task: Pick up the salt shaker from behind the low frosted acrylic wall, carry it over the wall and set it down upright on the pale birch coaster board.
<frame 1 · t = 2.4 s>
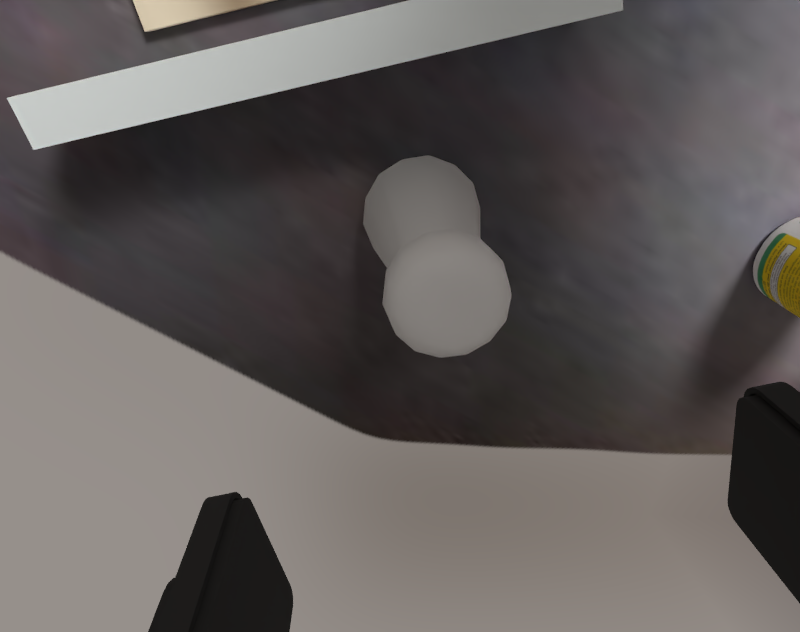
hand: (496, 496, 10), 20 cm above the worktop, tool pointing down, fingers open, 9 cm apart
acrylic wall: (323, 53, 25), on the worktop
supplement bottle: (792, 255, 31), on the worktop
salt shaker: (417, 202, 28), on the worktop
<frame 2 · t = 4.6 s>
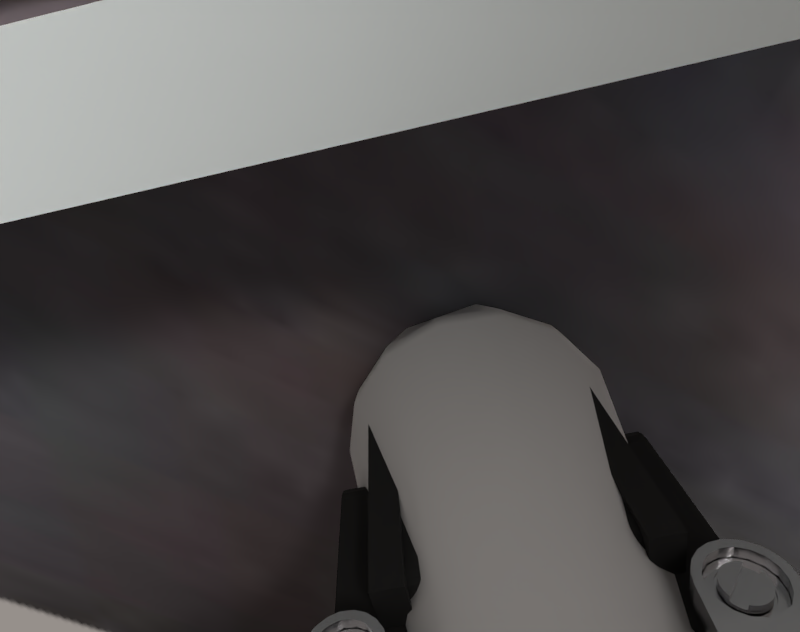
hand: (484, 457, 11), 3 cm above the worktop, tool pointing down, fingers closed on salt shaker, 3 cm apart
acrylic wall: (252, 77, 11), on the worktop
salt shaker: (461, 370, 14), on the worktop, touching gripper
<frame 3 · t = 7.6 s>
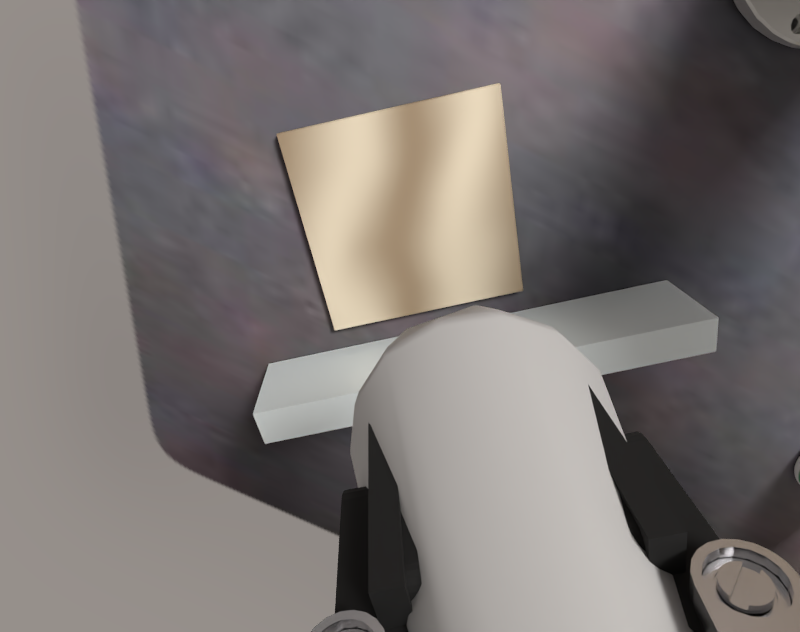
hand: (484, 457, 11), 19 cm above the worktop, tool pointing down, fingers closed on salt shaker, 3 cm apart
acrylic wall: (467, 336, 32), on the worktop
coaster board: (409, 216, 28), on the worktop
salt shaker: (461, 371, 14), point 16 cm above the worktop, touching gripper
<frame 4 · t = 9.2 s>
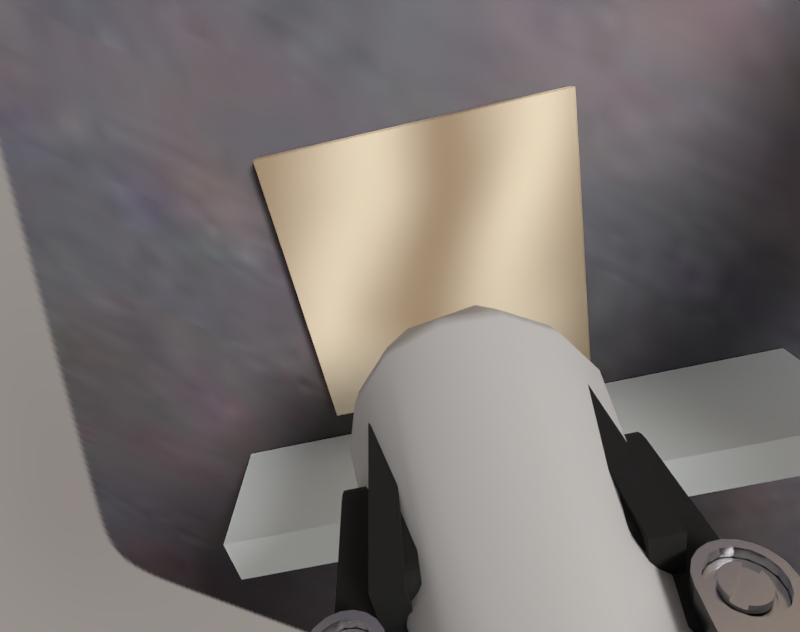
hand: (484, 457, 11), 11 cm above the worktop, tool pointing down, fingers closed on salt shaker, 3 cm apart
acrylic wall: (512, 419, 24), on the worktop
coaster board: (438, 269, 20), on the worktop
salt shaker: (461, 371, 14), point 7 cm above the worktop, touching gripper
when the fingers open (5 cm above the worktop, at t = 10.6 s): salt shaker stays where it is, resting on coaster board.
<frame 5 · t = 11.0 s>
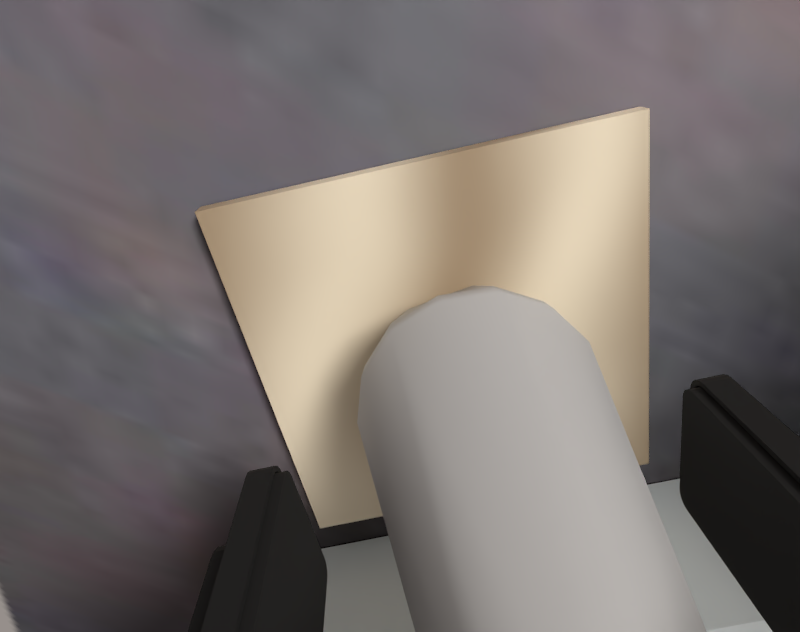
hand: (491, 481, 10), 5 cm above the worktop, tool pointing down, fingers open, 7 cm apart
acrylic wall: (544, 525, 19), on the worktop
coaster board: (452, 347, 15), on the worktop
salt shaker: (459, 349, 15), resting on coaster board
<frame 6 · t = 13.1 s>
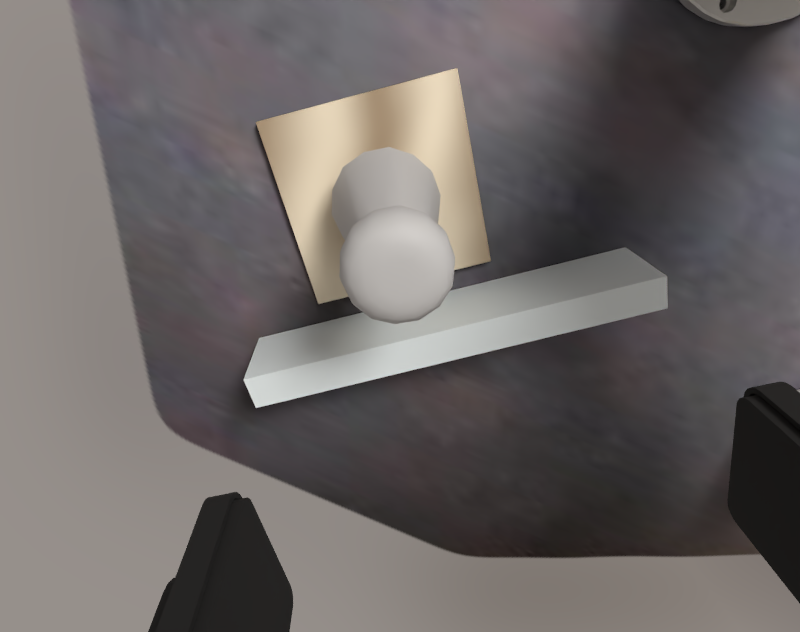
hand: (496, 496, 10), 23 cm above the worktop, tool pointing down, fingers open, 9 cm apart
acrylic wall: (442, 307, 34), on the worktop
coaster board: (381, 194, 31), on the worktop
salt shaker: (384, 193, 30), resting on coaster board
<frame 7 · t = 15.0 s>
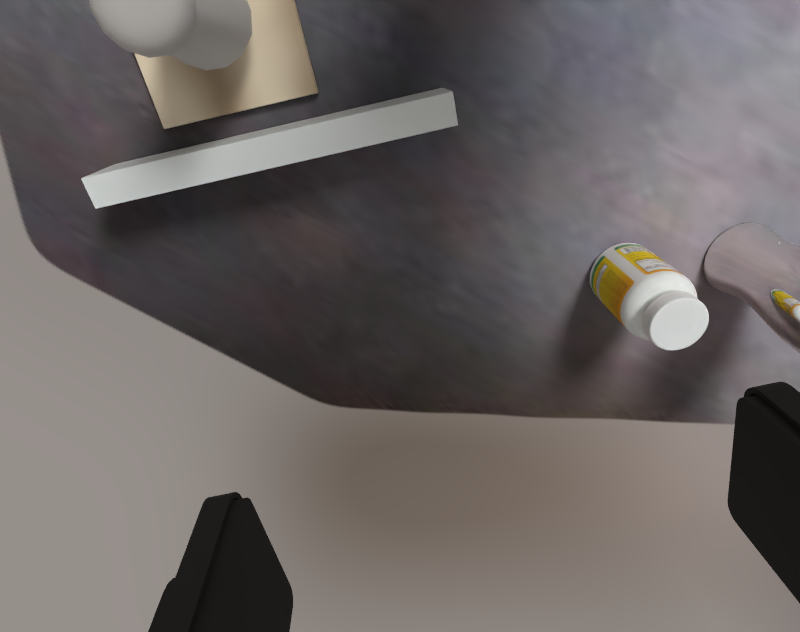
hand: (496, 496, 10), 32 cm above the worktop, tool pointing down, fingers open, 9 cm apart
acrylic wall: (280, 140, 38), on the worktop
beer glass: (737, 256, 44), on the worktop
supplement bottle: (618, 271, 44), on the worktop
coaster board: (213, 22, 34), on the worktop
salt shaker: (214, 19, 34), resting on coaster board
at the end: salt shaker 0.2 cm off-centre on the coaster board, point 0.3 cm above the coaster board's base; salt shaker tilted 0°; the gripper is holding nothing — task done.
